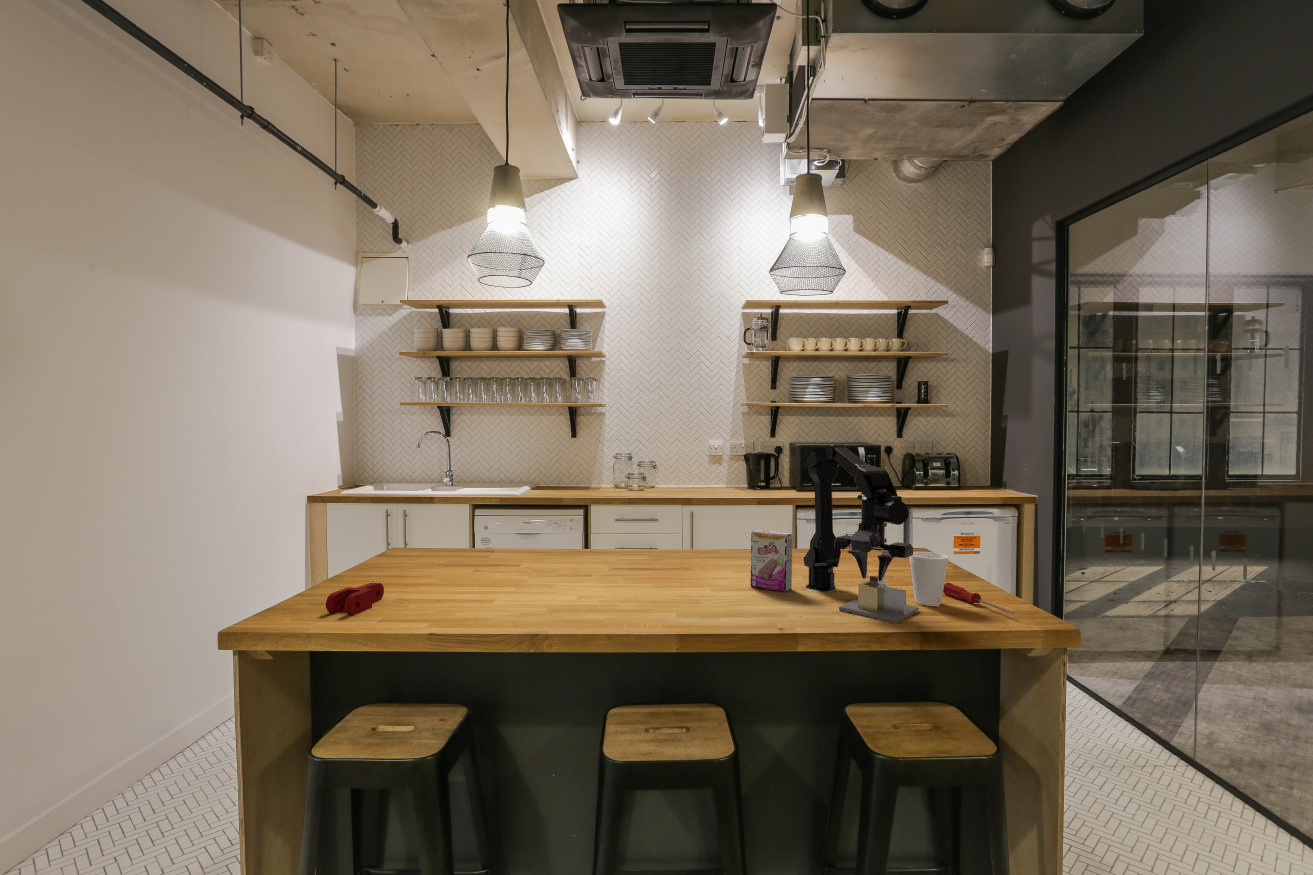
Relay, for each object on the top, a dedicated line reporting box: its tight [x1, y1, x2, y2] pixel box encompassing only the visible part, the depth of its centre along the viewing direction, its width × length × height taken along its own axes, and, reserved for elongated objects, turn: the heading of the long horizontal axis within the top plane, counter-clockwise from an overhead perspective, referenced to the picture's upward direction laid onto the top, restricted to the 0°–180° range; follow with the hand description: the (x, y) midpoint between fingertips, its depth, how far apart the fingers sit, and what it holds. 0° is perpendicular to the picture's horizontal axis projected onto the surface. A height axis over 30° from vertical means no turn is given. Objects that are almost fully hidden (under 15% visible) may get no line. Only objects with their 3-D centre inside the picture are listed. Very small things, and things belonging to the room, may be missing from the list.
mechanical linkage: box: [325, 582, 385, 616], centre depth 166 cm, size 16×7×5 cm, turn 167°
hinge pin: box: [869, 575, 879, 587], centre depth 164 cm, size 2×2×8 cm
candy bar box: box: [750, 529, 793, 593], centre depth 187 cm, size 11×5×16 cm, turn 58°
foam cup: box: [909, 551, 949, 605], centre depth 172 cm, size 10×9×13 cm
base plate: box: [838, 598, 920, 624], centre depth 165 cm, size 15×14×1 cm
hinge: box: [857, 578, 907, 615], centre depth 164 cm, size 11×11×6 cm
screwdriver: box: [943, 582, 1016, 614], centre depth 170 cm, size 4×25×4 cm, turn 13°
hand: (872, 579), depth 164 cm, fingers open, 4 cm apart
